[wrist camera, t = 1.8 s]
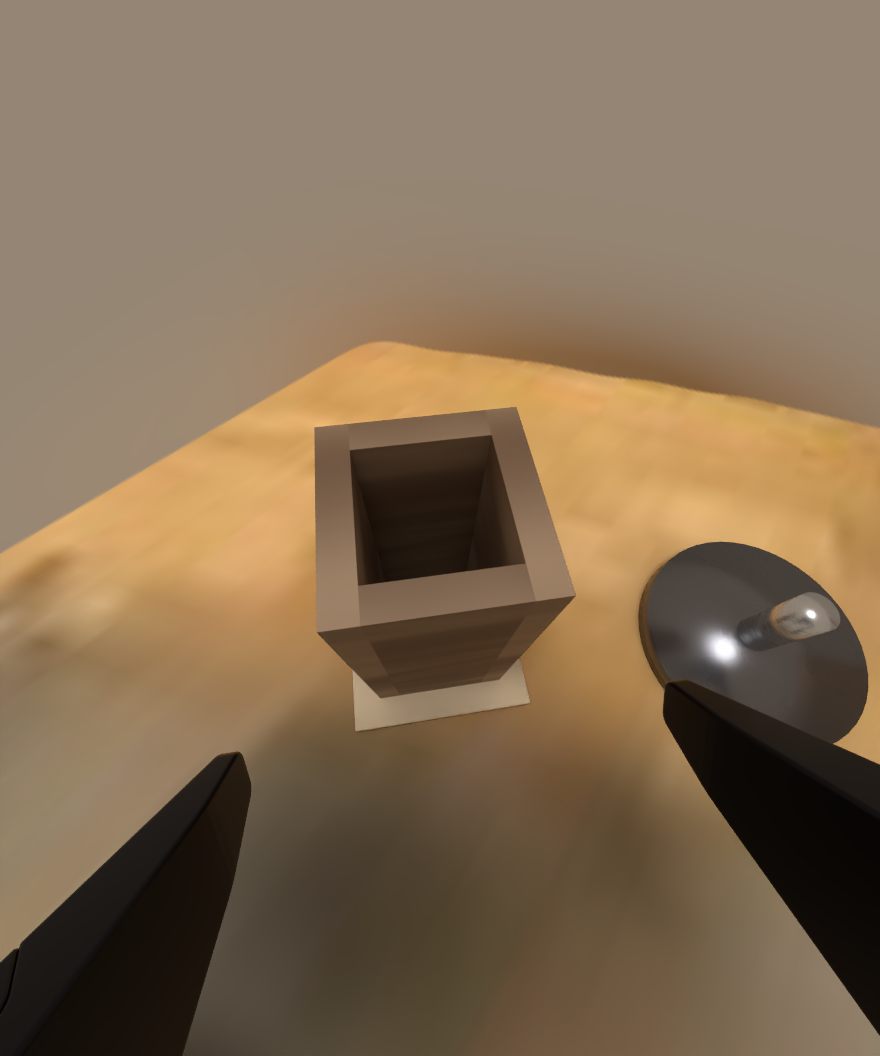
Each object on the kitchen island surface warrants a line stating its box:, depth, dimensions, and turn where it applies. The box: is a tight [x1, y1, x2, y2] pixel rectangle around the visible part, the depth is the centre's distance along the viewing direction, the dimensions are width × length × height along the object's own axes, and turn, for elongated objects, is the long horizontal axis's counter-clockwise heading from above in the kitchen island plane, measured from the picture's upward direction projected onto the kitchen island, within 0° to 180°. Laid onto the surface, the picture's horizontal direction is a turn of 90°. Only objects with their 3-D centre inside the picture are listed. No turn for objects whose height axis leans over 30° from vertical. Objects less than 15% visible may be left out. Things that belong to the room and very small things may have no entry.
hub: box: [639, 542, 868, 744], centre depth 19 cm, size 10×10×5 cm
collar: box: [315, 407, 576, 698], centre depth 15 cm, size 6×6×12 cm
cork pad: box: [353, 657, 530, 732], centre depth 21 cm, size 8×8×1 cm
